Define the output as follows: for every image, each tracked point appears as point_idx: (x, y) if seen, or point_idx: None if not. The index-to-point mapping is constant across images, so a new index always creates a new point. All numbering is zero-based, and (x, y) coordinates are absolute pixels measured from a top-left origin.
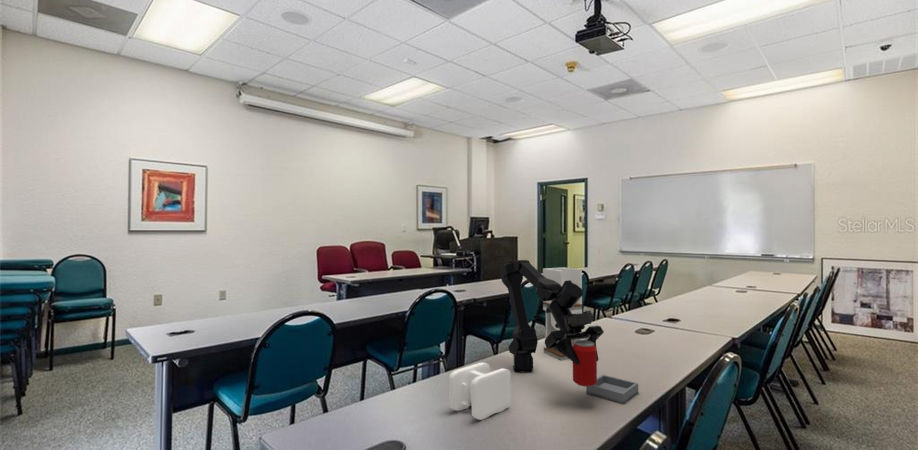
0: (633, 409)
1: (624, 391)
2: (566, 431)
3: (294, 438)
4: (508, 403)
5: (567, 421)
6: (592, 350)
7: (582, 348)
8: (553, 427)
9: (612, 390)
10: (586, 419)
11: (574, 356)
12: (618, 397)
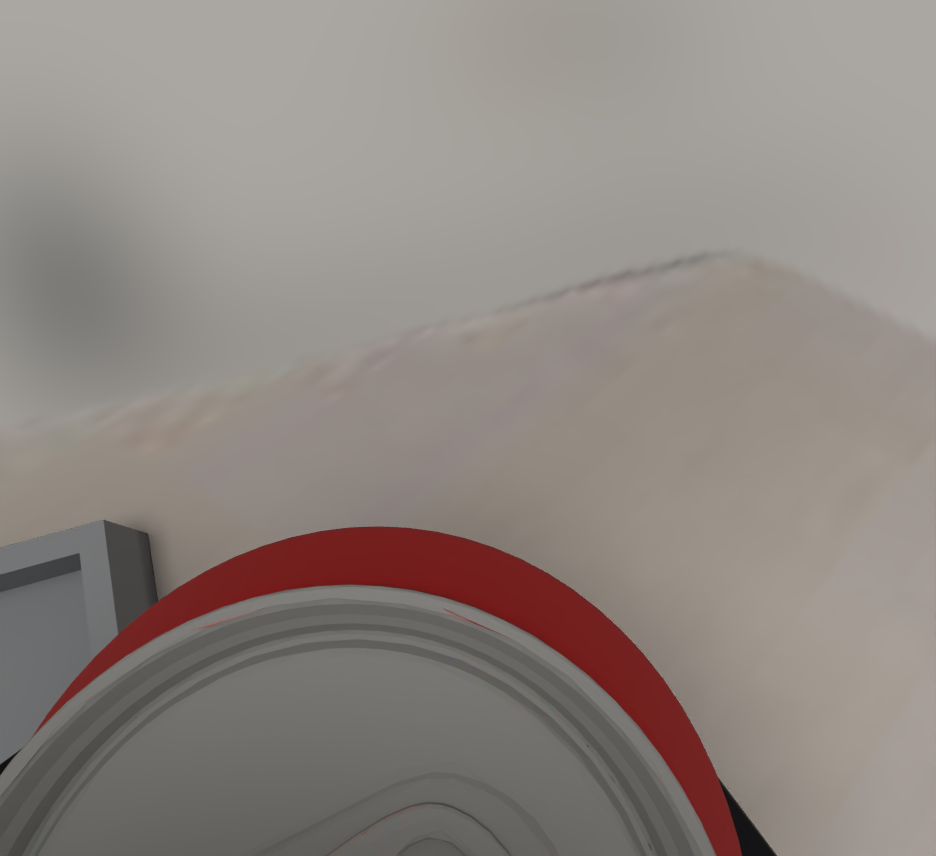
0: (174, 432)
1: (34, 555)
2: (869, 445)
3: None
4: None
5: (771, 550)
6: (403, 536)
7: (669, 732)
8: (922, 533)
9: (101, 639)
10: (620, 500)
11: (763, 844)
12: (132, 569)
